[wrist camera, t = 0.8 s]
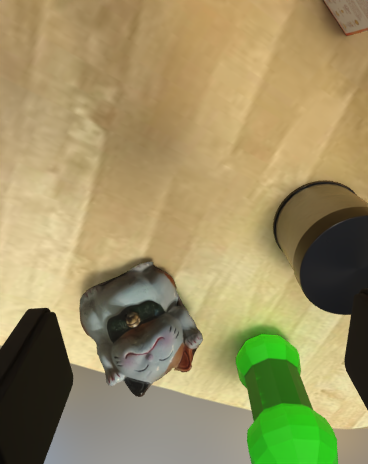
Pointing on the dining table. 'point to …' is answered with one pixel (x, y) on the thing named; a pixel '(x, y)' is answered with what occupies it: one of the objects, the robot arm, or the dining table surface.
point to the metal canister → (325, 243)
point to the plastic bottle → (281, 406)
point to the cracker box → (350, 14)
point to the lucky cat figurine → (139, 327)
